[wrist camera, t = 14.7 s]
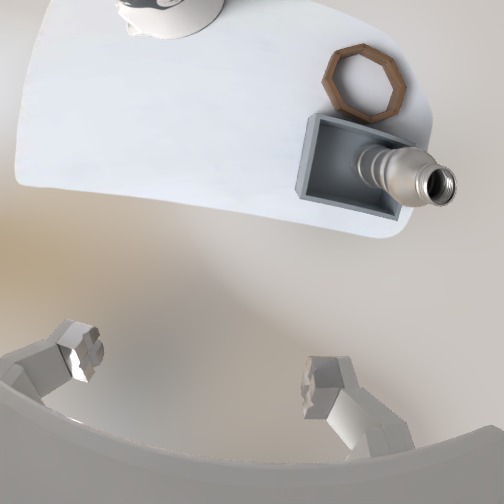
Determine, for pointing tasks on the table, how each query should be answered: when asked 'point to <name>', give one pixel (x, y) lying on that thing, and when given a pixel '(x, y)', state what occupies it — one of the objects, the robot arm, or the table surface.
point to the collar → (389, 69)
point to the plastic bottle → (404, 174)
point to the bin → (342, 166)
